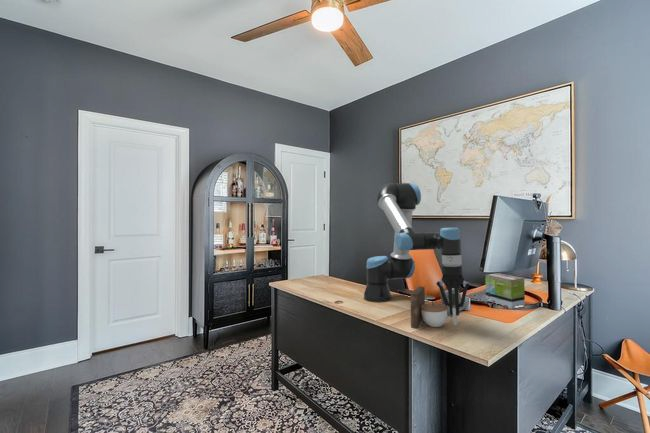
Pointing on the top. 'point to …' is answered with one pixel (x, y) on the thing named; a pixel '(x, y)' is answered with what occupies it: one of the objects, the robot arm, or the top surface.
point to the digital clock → (453, 301)
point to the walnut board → (417, 306)
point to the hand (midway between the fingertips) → (455, 323)
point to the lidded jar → (434, 314)
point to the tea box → (505, 289)
